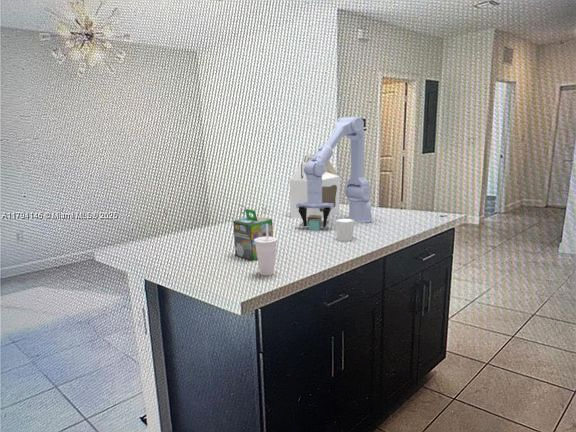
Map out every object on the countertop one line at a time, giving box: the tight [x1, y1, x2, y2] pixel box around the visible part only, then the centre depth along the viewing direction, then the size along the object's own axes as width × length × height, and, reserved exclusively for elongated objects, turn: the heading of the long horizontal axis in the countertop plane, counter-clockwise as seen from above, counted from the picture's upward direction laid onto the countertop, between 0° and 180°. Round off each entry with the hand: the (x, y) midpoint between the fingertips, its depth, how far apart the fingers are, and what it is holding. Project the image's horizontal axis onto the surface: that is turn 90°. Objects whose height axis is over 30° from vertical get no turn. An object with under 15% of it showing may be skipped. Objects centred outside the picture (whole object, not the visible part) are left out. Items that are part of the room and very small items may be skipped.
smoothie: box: [254, 224, 278, 277], centre depth 110 cm, size 6×6×14 cm
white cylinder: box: [334, 218, 355, 242], centre depth 145 cm, size 7×7×7 cm
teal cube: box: [308, 219, 322, 231], centre depth 160 cm, size 4×4×4 cm
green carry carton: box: [232, 208, 274, 262], centre depth 128 cm, size 9×9×15 cm
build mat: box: [298, 220, 330, 228], centre depth 170 cm, size 11×11×1 cm
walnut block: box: [307, 215, 322, 225], centre depth 170 cm, size 5×5×3 cm
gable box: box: [289, 154, 340, 219], centre depth 186 cm, size 22×13×28 cm, turn 144°
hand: (314, 226), depth 160 cm, fingers open, 7 cm apart
